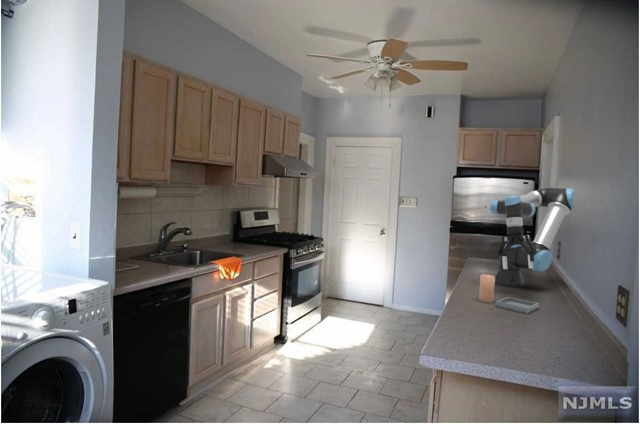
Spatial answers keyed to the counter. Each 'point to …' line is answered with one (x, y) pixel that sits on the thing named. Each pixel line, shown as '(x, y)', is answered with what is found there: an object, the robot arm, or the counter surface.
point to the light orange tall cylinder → (486, 288)
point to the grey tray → (517, 305)
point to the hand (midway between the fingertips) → (517, 268)
